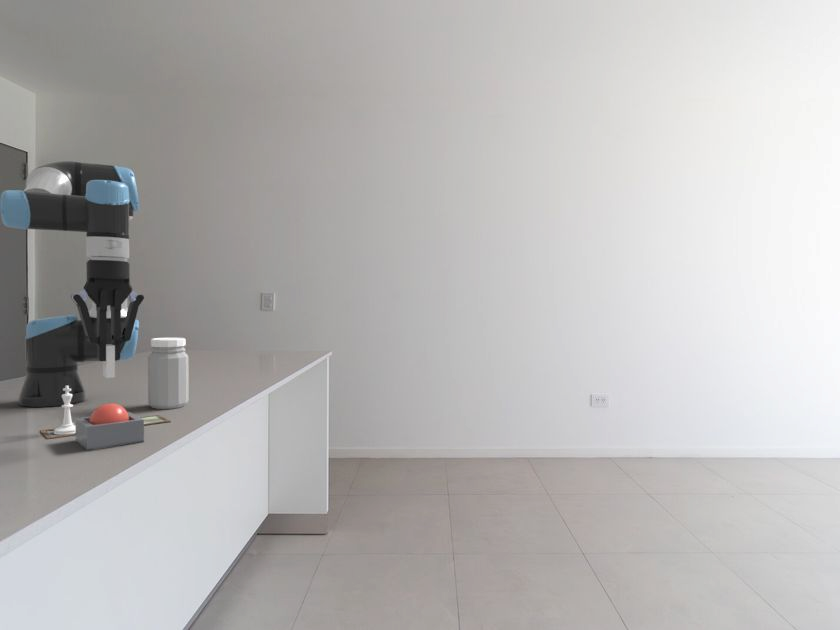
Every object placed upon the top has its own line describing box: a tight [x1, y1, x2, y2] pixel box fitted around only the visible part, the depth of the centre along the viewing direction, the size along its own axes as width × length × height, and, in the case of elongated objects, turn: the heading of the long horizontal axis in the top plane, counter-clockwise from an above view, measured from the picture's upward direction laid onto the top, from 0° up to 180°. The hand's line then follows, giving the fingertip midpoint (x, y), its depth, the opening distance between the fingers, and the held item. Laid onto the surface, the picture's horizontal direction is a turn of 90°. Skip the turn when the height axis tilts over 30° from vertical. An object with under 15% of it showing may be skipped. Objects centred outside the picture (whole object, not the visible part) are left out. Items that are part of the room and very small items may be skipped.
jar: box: [147, 337, 190, 410], centre depth 148 cm, size 10×10×18 cm
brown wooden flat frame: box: [39, 414, 171, 440], centre depth 125 cm, size 9×24×1 cm, turn 132°
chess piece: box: [53, 386, 76, 436], centre depth 120 cm, size 5×5×10 cm
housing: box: [74, 411, 145, 452], centre depth 113 cm, size 10×10×4 cm
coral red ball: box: [89, 403, 129, 425], centre depth 113 cm, size 7×7×7 cm
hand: (109, 376), depth 113 cm, fingers closed
